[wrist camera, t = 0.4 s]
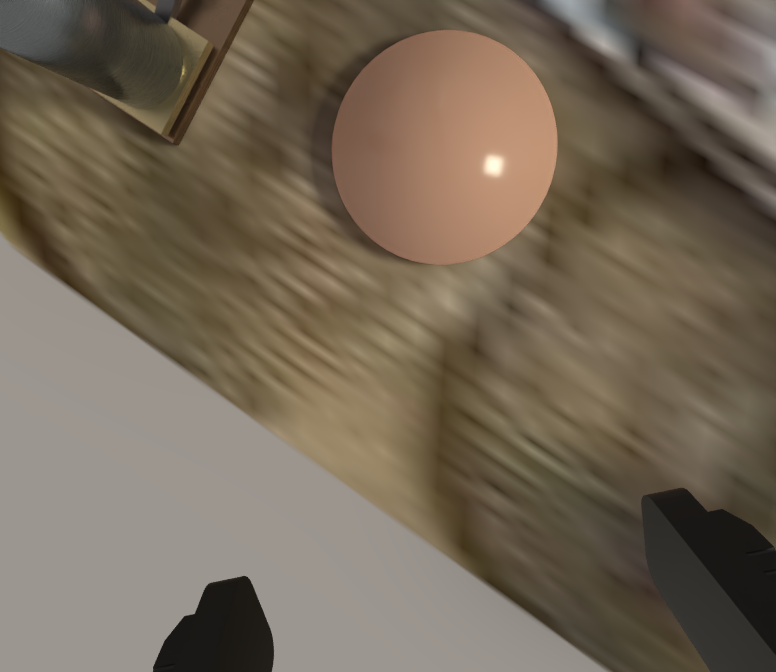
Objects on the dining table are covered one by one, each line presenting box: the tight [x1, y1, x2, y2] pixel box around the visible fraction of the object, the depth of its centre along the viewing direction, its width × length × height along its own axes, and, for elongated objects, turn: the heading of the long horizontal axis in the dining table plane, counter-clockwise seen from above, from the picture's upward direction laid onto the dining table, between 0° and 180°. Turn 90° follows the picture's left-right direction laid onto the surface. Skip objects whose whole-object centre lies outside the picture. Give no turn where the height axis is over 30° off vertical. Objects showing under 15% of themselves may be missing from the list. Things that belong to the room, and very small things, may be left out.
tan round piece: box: [332, 30, 557, 265], centre depth 33 cm, size 14×14×1 cm
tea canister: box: [0, 0, 183, 108], centre depth 26 cm, size 6×6×14 cm
